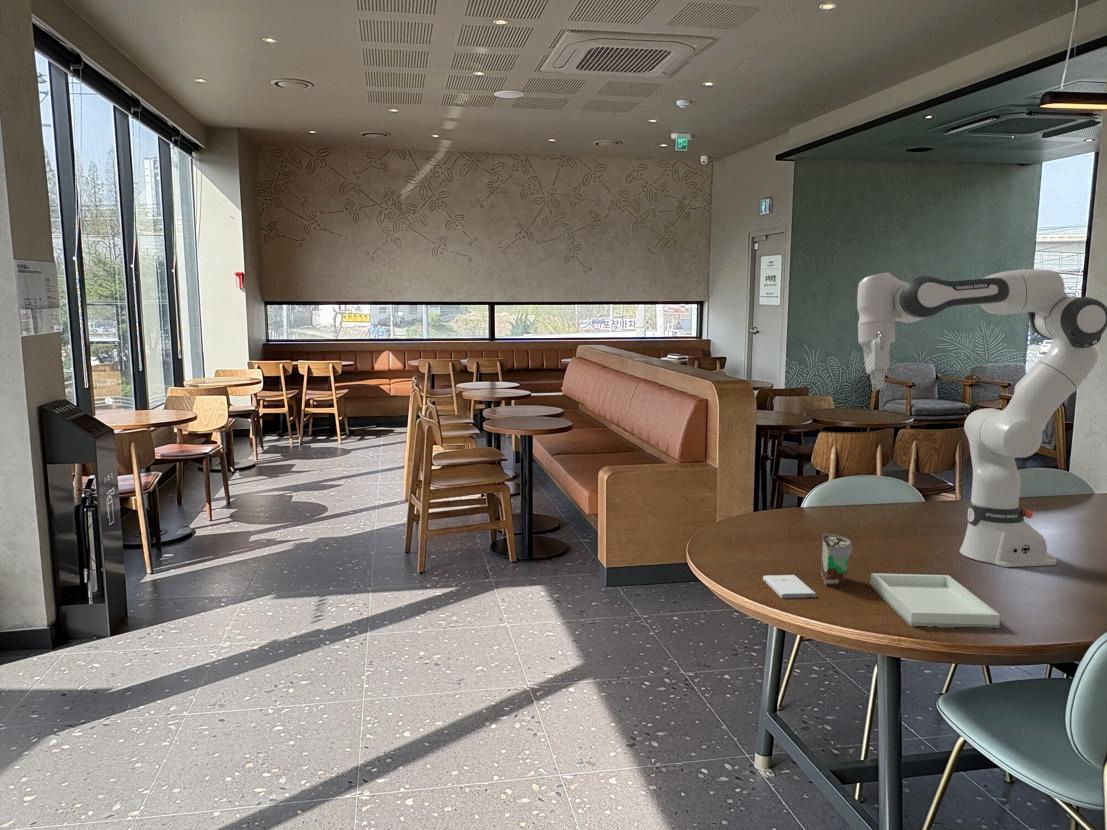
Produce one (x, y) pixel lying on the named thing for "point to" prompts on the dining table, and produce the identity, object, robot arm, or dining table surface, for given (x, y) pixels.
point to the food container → (835, 559)
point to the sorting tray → (933, 601)
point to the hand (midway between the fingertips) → (878, 389)
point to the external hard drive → (789, 586)
